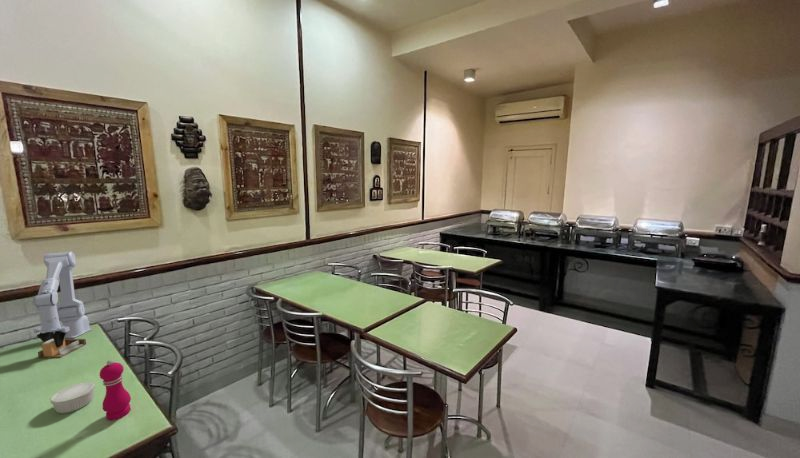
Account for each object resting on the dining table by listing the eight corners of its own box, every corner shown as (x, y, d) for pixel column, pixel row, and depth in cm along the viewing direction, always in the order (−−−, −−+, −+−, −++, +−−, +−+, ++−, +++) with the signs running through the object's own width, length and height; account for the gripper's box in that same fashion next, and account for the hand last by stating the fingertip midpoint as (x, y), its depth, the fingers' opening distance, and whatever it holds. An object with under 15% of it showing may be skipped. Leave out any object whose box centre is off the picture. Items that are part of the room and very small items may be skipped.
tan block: (57, 349, 151) (55, 337, 150) (66, 349, 151) (64, 337, 150) (43, 356, 145) (41, 343, 144) (52, 356, 145) (50, 343, 144)
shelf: (66, 344, 157) (65, 339, 157) (86, 344, 157) (85, 338, 157) (38, 357, 145) (37, 352, 145) (60, 357, 145) (59, 351, 145)
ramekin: (64, 398, 118) (62, 385, 117) (103, 391, 122) (100, 378, 121) (44, 419, 107) (41, 405, 107) (86, 410, 111) (84, 397, 110)
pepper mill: (99, 419, 107) (89, 364, 104) (123, 404, 114) (114, 352, 111) (114, 423, 105) (104, 367, 102) (137, 408, 112) (129, 355, 109)
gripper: (23, 322, 142) (29, 351, 144) (55, 322, 142) (61, 350, 144) (41, 316, 149) (46, 343, 151) (72, 315, 149) (77, 342, 151)
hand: (54, 346), depth 148 cm, fingers closed on tan block, 4 cm apart
